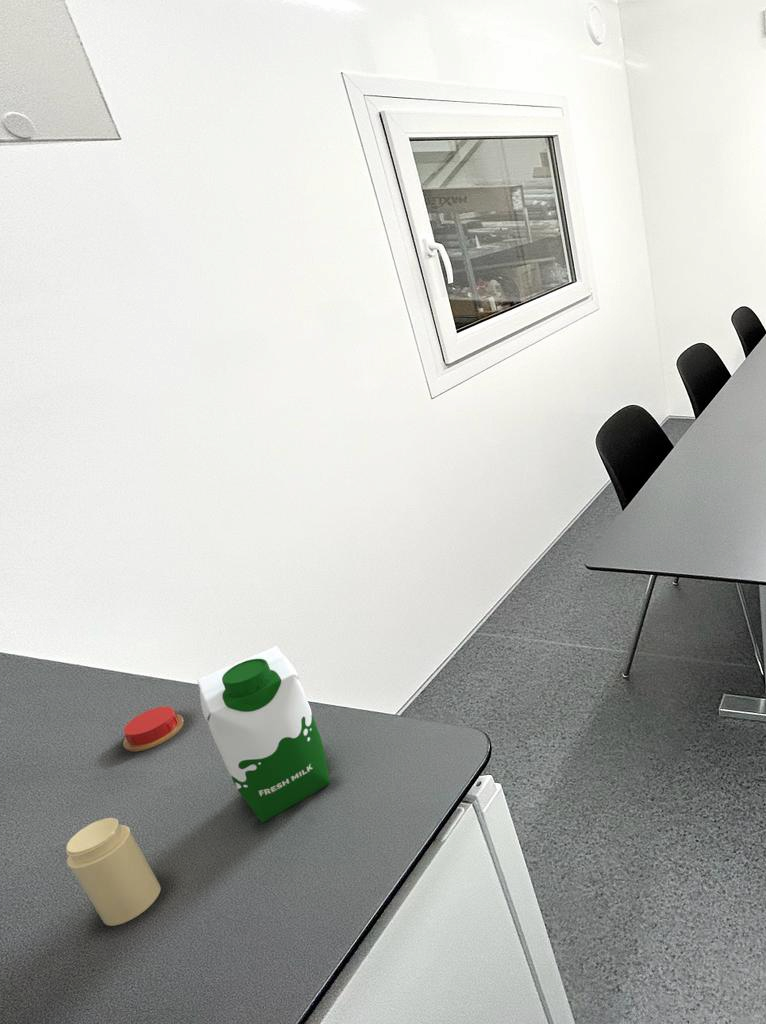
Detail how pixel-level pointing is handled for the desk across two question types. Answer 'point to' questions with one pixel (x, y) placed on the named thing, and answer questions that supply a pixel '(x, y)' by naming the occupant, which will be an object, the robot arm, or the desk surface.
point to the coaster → (152, 744)
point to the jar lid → (150, 725)
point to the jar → (112, 871)
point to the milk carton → (265, 732)
